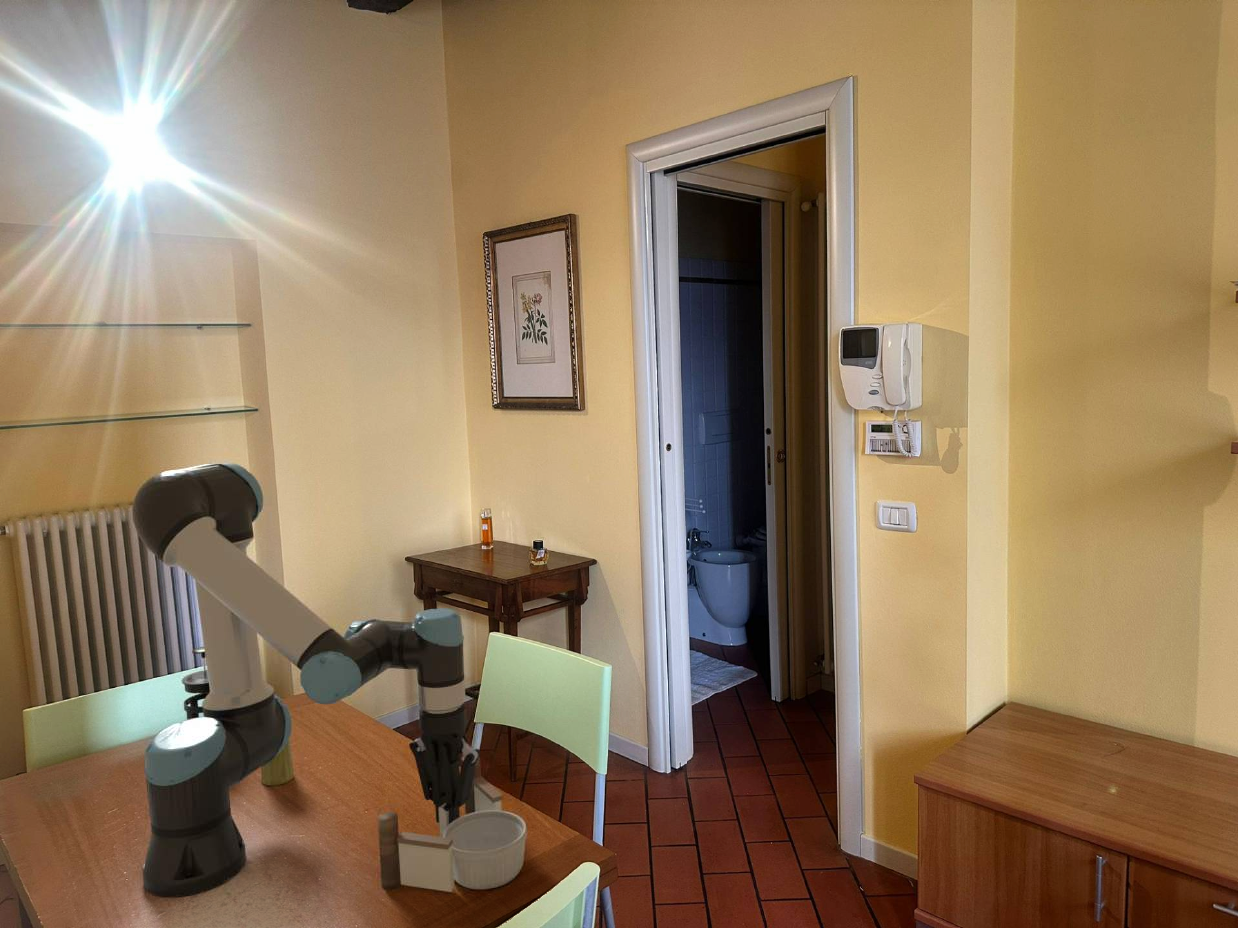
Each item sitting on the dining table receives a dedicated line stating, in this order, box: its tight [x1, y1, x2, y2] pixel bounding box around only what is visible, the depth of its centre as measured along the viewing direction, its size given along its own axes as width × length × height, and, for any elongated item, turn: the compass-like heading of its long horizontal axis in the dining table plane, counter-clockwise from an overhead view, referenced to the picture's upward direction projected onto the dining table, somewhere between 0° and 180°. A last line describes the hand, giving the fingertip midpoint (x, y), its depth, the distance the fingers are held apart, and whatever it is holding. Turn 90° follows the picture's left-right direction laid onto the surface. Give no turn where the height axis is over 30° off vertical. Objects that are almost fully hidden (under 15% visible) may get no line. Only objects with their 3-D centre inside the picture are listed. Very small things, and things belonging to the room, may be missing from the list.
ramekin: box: [443, 810, 528, 890], centre depth 142 cm, size 13×13×7 cm
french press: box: [181, 646, 210, 720], centre depth 188 cm, size 12×9×23 cm
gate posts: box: [377, 756, 482, 890], centre depth 149 cm, size 25×3×11 cm, turn 154°
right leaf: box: [472, 775, 504, 812], centre depth 153 cm, size 8×2×8 cm, turn 33°
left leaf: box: [397, 831, 455, 893], centre depth 137 cm, size 8×2×8 cm, turn 74°
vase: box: [260, 739, 295, 787], centre depth 176 cm, size 6×6×14 cm
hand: (449, 841), depth 148 cm, fingers closed
